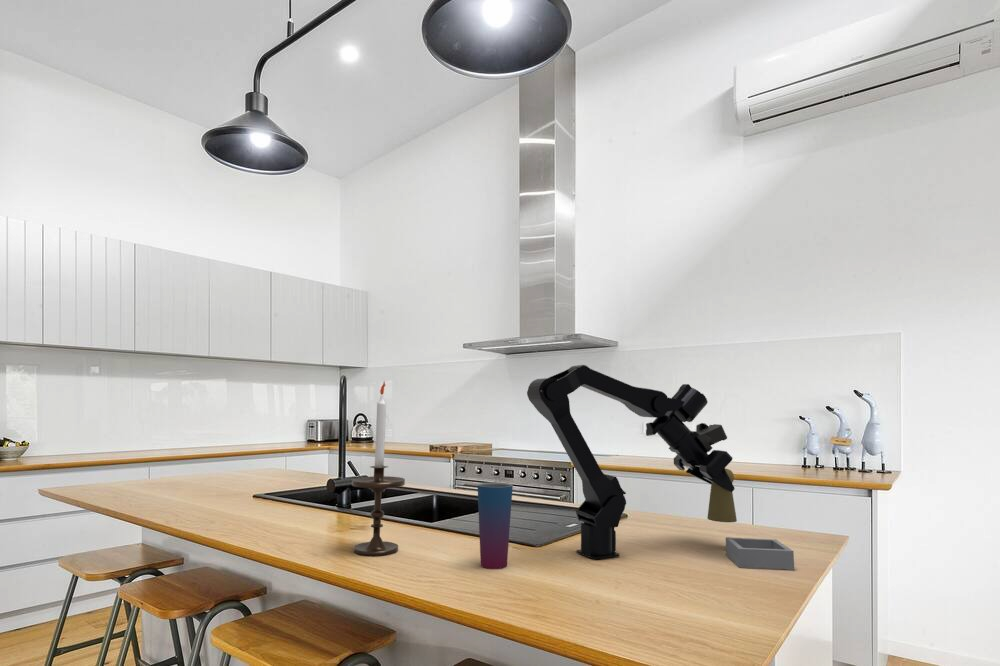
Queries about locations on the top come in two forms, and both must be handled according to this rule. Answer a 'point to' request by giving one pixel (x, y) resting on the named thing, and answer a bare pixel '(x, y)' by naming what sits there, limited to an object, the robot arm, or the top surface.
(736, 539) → the open box
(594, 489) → the robot arm
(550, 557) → the top surface
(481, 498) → the cup
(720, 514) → the olive pawn
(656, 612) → the top surface
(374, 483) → the candlestick
